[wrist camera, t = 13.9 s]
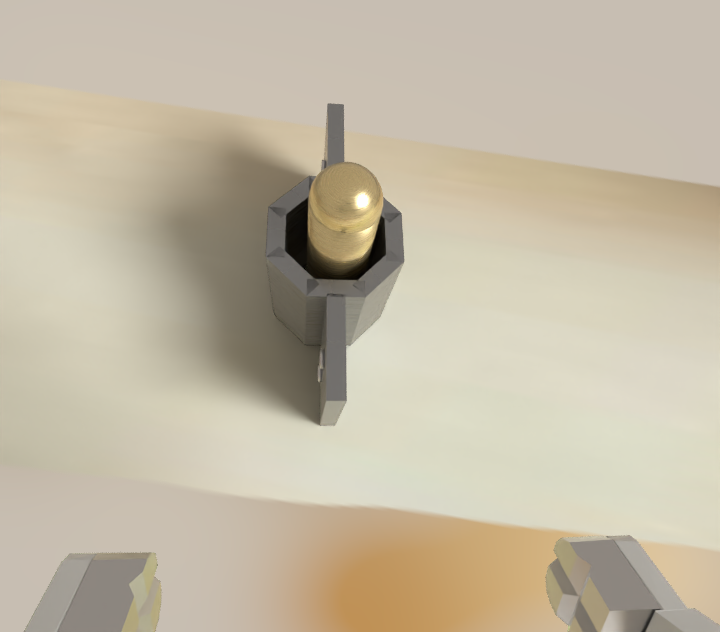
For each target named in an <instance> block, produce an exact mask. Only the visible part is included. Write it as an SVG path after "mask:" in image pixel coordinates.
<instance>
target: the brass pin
mask: <svg viewBox="0 0 720 632" xmlns="http://www.w3.org/2000/svg"><path fill="white" fill-rule="evenodd" d="M382 208H383V193H382V189H381V186H380V184H379V182H378V180H377V179H376V177H375V176H374V175H373V174H372V173H371V172H370V171H369V170H368V169H367V168H365V167H363V166H361V165H359V164H356V163H352V162H339V163H335V164H332V165H330V166H328V167H326V168H325V169H324V170H322V171H321V172H320V173H319V174H318V175H317V176H316V178H315V179H314V181H313V183H312V185H311V188H310V191H309V198H308V236H307V272H308V273H309V274H310V275H311V276H312V277H313V278H314V279H328V280H359V279H360V278H361V277H362V276H363V275H364V274H365V270H366V267H367V263H368V260H369V256H370V252H371V249H372V245H373V242H374V238H375V234H376V231H377V227H378V224H379V220H380V216H381V213H382Z"/></svg>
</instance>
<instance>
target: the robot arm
mask: <svg viewBox="0 0 720 632" xmlns="http://www.w3.org/2000/svg"><path fill="white" fill-rule="evenodd" d="M554 552H555V554H556V556H557V557H558V558H557V559H556V560H555V561H553V562H552V563H551V564H550V565H549V566H548V570H547V574H546V588H547V594H548V597H549V601H550V603H551V606H552V608H553V610H554V612H555V614H556V616H558V617H559V618H560V619H561V620H562V621H563V622H565V623H566V624H567V625H568V631H567V632H720V625H718V624H717V623H715V622H714V621H713V620H711V619H710V618H708V617H707V616H705V615H704V614H702V613H701V612H699V611H698V610H696V609H695V608H687V607H686V605H685V604H684V603H683V601H682V600H681V599H680V597H679V596H678V595H677V593H676V592H675V591H674V589H673V588H672V587H671V585H670V584H669V583H668V581H667V580H666V579H665V577H664V576H663V575H662V573H661V572H660V571H659V569H658V568H657V567H656V565H655V564H654V563H653V561H652V560H651V559H650V557H649V556H648V555H647V553H646V552H645V551H644V549H643V548H642V547H641V545H640V544H639V543H638V541H637V540H636V539H634V538H633V537H632V536H630V535H628V536H606V537H605V536H589V537H568V538H561V539H560V540H558V541H557V543H556V545H555V548H554ZM157 566H158V564H157V559H156V554H155V553H81V554H80V553H79V554H78V553H77V554H76V553H75V554H69V555H68V556H67V557H66V558H65V559H64V560H63V561H62V562H61V564H60V566H59V568H58V569H57V571H56V573H55V575H54V577H53V579H52V580H51V582H50V584H49V586H48V588H47V590H46V592H45V593H44V595H43V597H42V599H41V601H40V603H39V605H38V606H37V608H36V610H35V612H34V614H33V616H32V618H31V620H30V621H29V623H28V625H27V627H26V629H25V631H24V632H155V631H156V626H157V623H158V620H159V613H160V607H161V583H160V581H159V580H158V579H157V578H156V577H155V576H154V575H155V572H156V569H157Z"/></svg>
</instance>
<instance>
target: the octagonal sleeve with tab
mask: <svg viewBox="0 0 720 632" xmlns="http://www.w3.org/2000/svg"><path fill="white" fill-rule="evenodd" d="M339 162H344V105H342V104H328V109H327V123H326V138H325V153H324V160H322V169H321V171H322V170H324V169H325V168H326V167H328V166H330V165H332V164H335V163H339ZM315 178H316V176H308V177H307V178H306V179H305V180H303V181H302V182H301V183H299V184H298V185H297V186H295V187H294V188H293V189H291V190H290V191H289V192H287V193H286V194H285V195H283V196H282V197H281V198H280V199H278V200H277V201H276V202H274V203H273V204H272V205H270V206H269V207H268V224H267V242H266V262H267V269H268V276H269V282H270V289H271V296H272V302H273V309H274V315H275V316H276V317H277V318H278V319H280V320H281V321H282V322H283V323H284V324H285V325H286V326H287V327H288V328H289V329H290V330H291V331H292V332H293V333H294V334H295V335H296V336H297V337H298V338H299V339H300V340H301V341H302V342H303V343H304V344H305V345H321V349H320V357H319V364H318V382H320V426H334V425H335V424H336V422H337V420H338V418H339V416H340V414H341V412H342V410H343V407H344V405H345V403H346V401H347V396H346V345H351V344H352V343H353V342H354V341H355V340H356V339H357V338H358V337H360V336H361V335H362V334H363V333H364V332H365V331H366V330H367V329H368V328H369V327H370V326H371V325H372V324H373V323H374V322H375V321H376V320H377V319H378V318H379V317H380V316H381V314H382V311H383V309H384V307H385V305H386V302H387V300H388V298H389V295H390V293H391V291H392V289H393V286H394V284H395V282H396V279H397V277H398V275H399V273H400V270H401V268H402V266H403V263H404V249H403V232H402V215H401V212H400V211H398V210H397V209H396V208H395V207H394V206H393V205H392V204H390V203H389V202H388V201H387V200H386V199H385V198H384V197H383V208H382V213H381V216H380V220H379V224H378V227H377V231H376V234H375V238H374V242H373V245H372V249H371V252H370V256H369V260H368V263H367V267H366V270H365V274H364V275H363V276H362V277H361V278H360V279H359V280H328V279H314V278H313V277H312V276H311V275H310V274H309V273H308V272H307V271H305V270H304V269H303V268H304V267H305V266H306V265H307V236H308V198H309V191H310V188H311V185H312V183H313V181H314V179H315Z"/></svg>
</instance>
